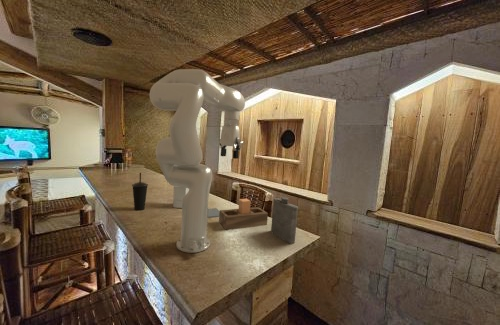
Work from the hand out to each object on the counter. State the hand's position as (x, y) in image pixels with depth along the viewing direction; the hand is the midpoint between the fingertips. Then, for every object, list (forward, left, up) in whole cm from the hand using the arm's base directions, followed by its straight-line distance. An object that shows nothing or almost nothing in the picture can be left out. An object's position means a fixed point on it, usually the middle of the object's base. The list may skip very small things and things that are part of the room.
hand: (229, 157), depth 112 cm
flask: (-28, -16, -32) cm, 46 cm away
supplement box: (+25, +18, -32) cm, 45 cm away
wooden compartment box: (-9, -6, -32) cm, 34 cm away
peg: (-9, -6, -30) cm, 32 cm away
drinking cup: (+25, +40, -32) cm, 57 cm away
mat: (+9, +6, -32) cm, 34 cm away
